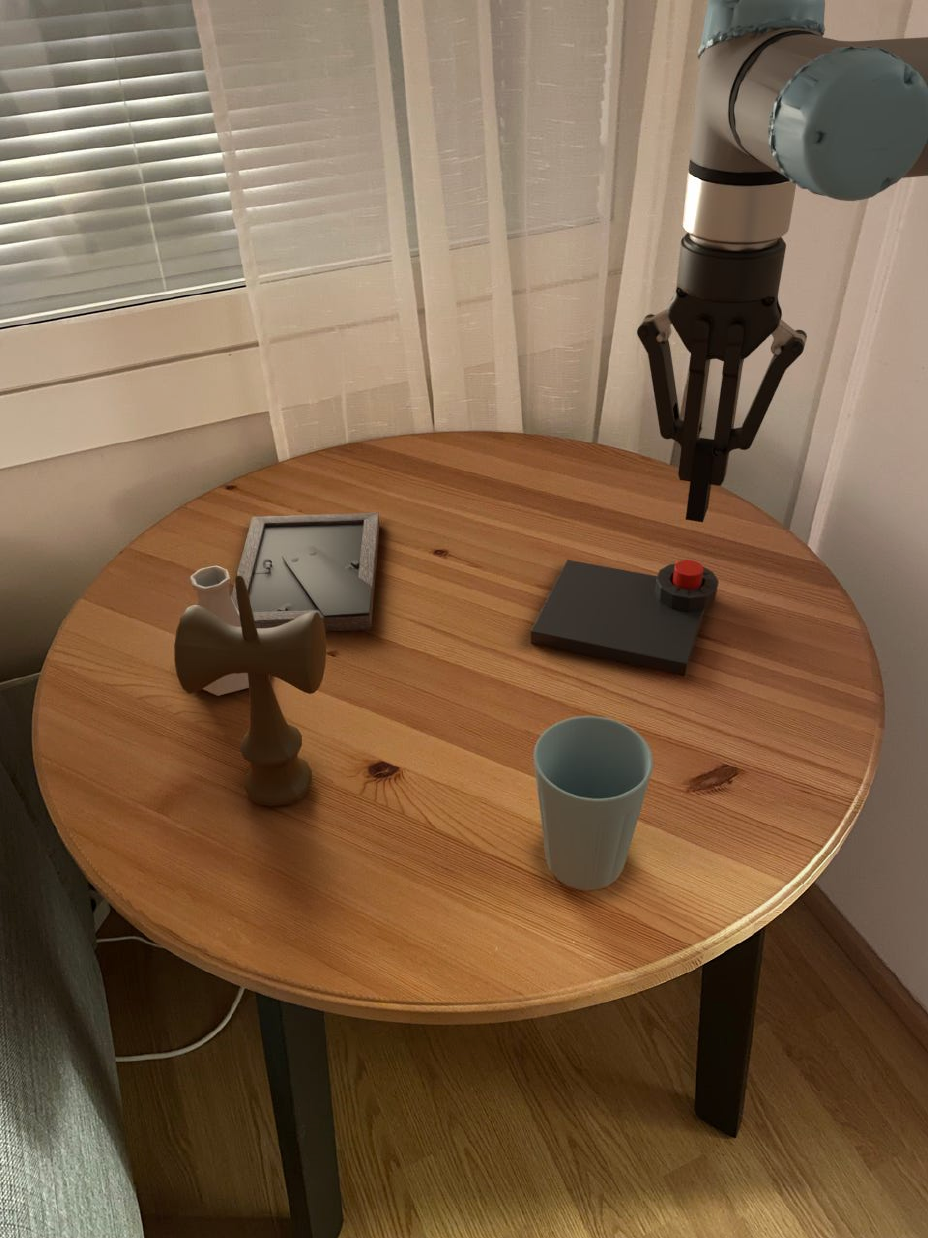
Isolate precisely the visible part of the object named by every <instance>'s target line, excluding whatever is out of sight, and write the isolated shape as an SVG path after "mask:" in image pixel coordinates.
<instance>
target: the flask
mask: <svg viewBox="0 0 928 1238" xmlns="http://www.w3.org/2000/svg"><path fill="white" fill-rule="evenodd" d="M189 578H190V579H189V580H190V582H191V585H192V588H193V589H194V591H196V593H197V605H199V606H201V607H203V608H205V609H206V610H208V611H209V612H211V613H212V614H214V615H215V616H217V617H218V618H220V619H221V620H223V621H225V622H226V623H228V624H230V625H232V626H235V627H241V622H240V616H239V611H238V610H237V608H236V607H235V605H234V602H233V600H232V598H231V592H230V587H229V585H230V584H231V583H232V580H231V576H230V573H229V570H228V569H226V568H224V567H221V566H218V565H212V566H208V567H203V568H200V569H199V570H197V571H195V573H193V574H192V575H190V576H189ZM245 689H249V682H248V673H240V674H236V673H234V674H229V675H226V676H224V677H222V678H220V679H218V680H216V681H214V682H213V683H211V684H209V685H208V686H206V687H204V688H203V689H202V690H203V691H206V692H208V693H210V694H213V695H215V696H217V697H218V696H222V695H225V694H226V695H227V694H230V693H234V692H238V691H241V690H245Z"/></svg>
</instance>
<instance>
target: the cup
mask: <svg viewBox="0 0 928 1238" xmlns="http://www.w3.org/2000/svg"><path fill="white" fill-rule="evenodd" d="M533 764H534V773H535V780H536V781H535V782H536V787H537V789H536V790H537V796H538V804H539V813H540V821H541V828H542V829H541V831H542V837H543V844H544V845H543V846H544V853H545V860H546V864H547V867H548V869H549V871H550V873H551V874H552V876H553V877H554V878H556V880H558V881H559V882H560V883H561V884H563V885H564V886H567V887H569V888H572V889H574V890H578V891H596V890H602V889H605V888H607V887H609V886H610V885H612V884H614V883H615V882H616V881H617V880H618V878H619V877H620V875H621V874H622V872H623V870H624V868H625V865H626V861H627V858H628V855H629V851H630V848H631V844H632V841H633V837H634V834H635V831H636V827H637V824H638V821H639V817H640V813H641V810H642V807H643V804H644V800H645V796H646V793H647V790H648V786H649V784H650V778H651V776H652V773H653V769H654V758H653V753H652V750H651V748H650V746H649V744H648V743H647V740H645V739H644V737H643V736H642V735H641V734H640V733H638V731H636V730H635V729H633V728H632V727H630V726H628V725H627V724H625V723H623V722H620V721H618V720H615V719H612V718H609V717H603V716H596V715H582V716H574V717H569V718H566V719H563V720H560V721H558V722H556V723H554V724H553V725H551V726H549V727H548V728H547V729H546V730H544V732H543V733H542V734H541V735H540V736H539V737H538V739H537V741H536V743H535V746H534V749H533Z"/></svg>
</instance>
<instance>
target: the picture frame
mask: <svg viewBox="0 0 928 1238" xmlns="http://www.w3.org/2000/svg"><path fill="white" fill-rule="evenodd" d="M379 535H380V516H379V512H355V513H353V512H352V513H349V512H348V513H324V514H323V513H322V514H293V515H291V514H290V515H266V516H265V515H264V516H251V520H250V524H249V529H248V531H247V535H246V539H245V543H244V547H243V550H242V554H241V557H240V561H239V565H238V569H237V572H236V576H237V575H241V576H242V577H243V579H244V581H245V584H246V587H247V591H248V595H249V599H250V603H251V607H252V612H253V616H254V620H255V624H256V628H258V629H261V628H273V627H277V626H281V625H283V624H285V623H288V622H290V621H292V620H294V619H296V618H298V617H300V616H302V615H304V614H306V613H309V612H312V611H316V612H318V613H319V615H320V617H321V618H322V620H323V624H324V628H325V632H346V631H347V632H348V631H349V632H351V631H372V623H373V610H374V600H375V599H374V597H375V584H376V575H377V574H376V573H377V560H378V549H379V537H380V536H379ZM230 596H231V598H232V600H233V602H234V605H235V607H236V608H237V610H238V603H237V596H236V588H235V582H234V584H233V587H232V591H231V594H230ZM238 611H239V610H238Z"/></svg>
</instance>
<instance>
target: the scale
mask: <svg viewBox="0 0 928 1238" xmlns="http://www.w3.org/2000/svg"><path fill="white" fill-rule="evenodd" d="M675 564H676V563H671V564H668V565H666V566H664V567H663V568H661V569H659V570H658V573H657V575H652V574H646V573H643V572H637V571H631V570H625V569H620V568H615V567H609V566H605V565H599V564H594V563H588V562H582V561H577V560H571V559H566V561H565V563H564V565H563V567H562V569H561V571H560V572H559V575H558V577H557V579H556V580H555V583H554V585H553V586H552V589H551V591H550V592H549V594H548V596H547V598H546V600H545V603H544V604H543V606H542V608H541V610H540V611H539V614H538V616H537V618H536V620H535V622H534V624H533V626H532V628H531V630H530V644H534V645H540V646H543V647H548V648H554V649H558V650H561V651H562V650H563V651H567V652H573V653H576V654H581V655H585V656H591V657H595V658H601V659H605V660H609V661H615V662H619V663H624V664H629V665H633V666H638V667H642V668H648V669H652V670H657V671H662V672H666V673H671V674H675V675H680V676H686V674H687V671H688V668H689V665H690V661H691V658H692V655H693V651H694V649H695V644H696V641H697V638H698V634H699V632H700V628H701V625H702V621H703V618H704V615H705V611H706V610H707V608H709V607H710V606H712V605H714V604H715V602H716V598H717V593H718V587H719V579H718V578H717V576H716V574H715V573H714V572H713V571H712V570H710V569H708V568H707V567H705V566H703V576H702V583H701V586H700V587H699V588H698V589H694V590H685V589H680V588H678V587H676V586H675V585H674V584H673V575H674V567H675Z"/></svg>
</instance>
